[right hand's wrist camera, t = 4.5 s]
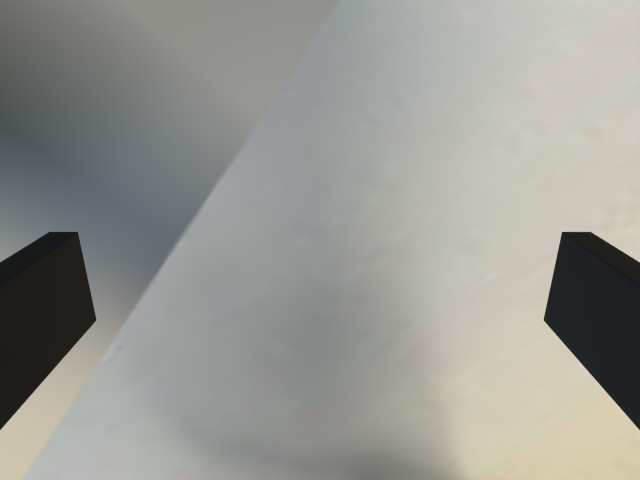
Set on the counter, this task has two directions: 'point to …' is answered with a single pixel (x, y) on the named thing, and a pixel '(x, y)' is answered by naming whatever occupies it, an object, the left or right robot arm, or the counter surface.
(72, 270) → the right robot arm
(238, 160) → the counter surface
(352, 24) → the counter surface
